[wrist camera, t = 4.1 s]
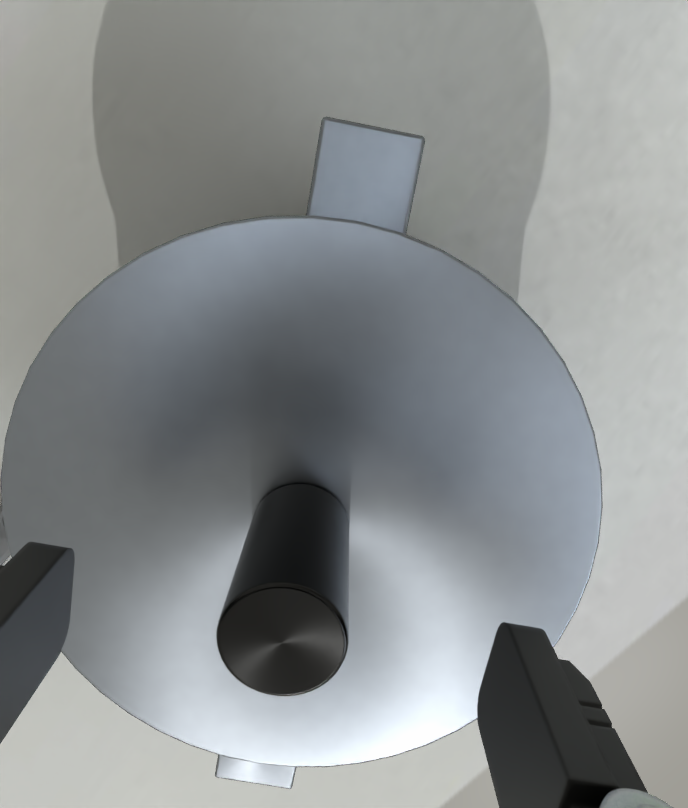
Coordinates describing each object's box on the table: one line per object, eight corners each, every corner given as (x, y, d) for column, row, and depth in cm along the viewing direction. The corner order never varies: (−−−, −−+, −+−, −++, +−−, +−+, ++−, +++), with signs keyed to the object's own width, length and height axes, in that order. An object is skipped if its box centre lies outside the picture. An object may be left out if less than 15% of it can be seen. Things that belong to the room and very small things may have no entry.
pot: (568, 194, 21) (679, 182, 14) (440, 670, 27) (473, 839, 19) (160, 113, 21) (59, 57, 14) (111, 616, 26) (19, 768, 19)
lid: (662, 279, 15) (835, 313, 10) (505, 770, 19) (566, 988, 14) (38, 159, 15) (-147, 123, 9) (12, 691, 19) (-128, 885, 13)
